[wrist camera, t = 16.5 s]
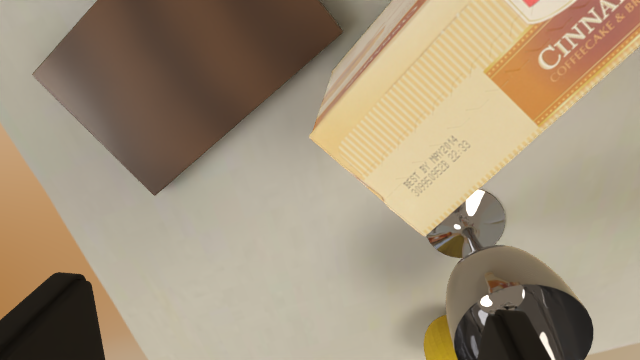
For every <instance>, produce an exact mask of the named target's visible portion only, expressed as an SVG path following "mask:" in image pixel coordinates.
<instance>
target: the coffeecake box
mask: <svg viewBox="0 0 640 360" xmlns="http://www.w3.org/2000/svg"><path fill="white" fill-rule="evenodd" d="M639 46H640V0H392V1H391V2H390V4H389V5H388V6H387V7H386V8H385V9H384V11H383V12H382V13H381V14H380V15H379V16H378V18H377V19H376V20H375V21H374V22H373V23H372V25H371V26H370V27H369V28H368V29H367V30H366V32H365V33H364V34H363V35H362V36H361V38H360V39H359V40H358V41H357V42H356V43H355V45H354V46H353V47H352V48H351V49H350V50H349V52H348V53H347V54H346V55H345V56H344V57H343V59H342V60H341V61H340V62H339V63H338V65H337V66H336V67H335V68H334V70H333V71H332V75H331V78H330V81H329V83H328V86H327V89H326V93H325V96H324V99H323V101H322V104H321V107H320V110H319V113H318V116H317V119H316V122H315V126H314V129H313V131H312V133H311V134H310V135H309V138H310V139H311V140H313V141H314V142H315V143H316V144H317V145H319V146H320V147H321V148H322V149H323V150H324V151H325V152H327V153H328V154H329V155H330V156H331V157H332V158H333V159H335V160H336V161H337V162H338V163H339V164H340V165H342V166H343V167H344V168H345V169H346V170H347V171H349V172H350V173H351V174H352V175H353V176H354V177H356V178H357V179H358V180H359V181H360V182H361V183H362V184H364V185H365V186H366V187H367V188H368V189H369V190H370V191H372V192H373V193H374V194H375V195H376V196H377V197H379V198H380V199H381V200H382V201H383V202H385V204H386V205H387V207H388V208H389V209H391V210H392V211H393V212H394V213H396V214H397V215H398V216H399V217H400V218H402V219H403V220H404V221H405V222H406V223H408V224H409V225H410V226H411V227H412V228H414V229H415V230H416V231H417V232H419V233H420V234H421V235H422V236H426V235H427V234H428V233H430V232H431V231H432V230H433V229H434V228H435V227H436V226H438V225H439V224H440V223H441V222H442V221H443V220H444V219H445V218H447V217H448V216H449V215H450V214H451V213H452V212H453V211H455V210H456V209H457V208H458V207H459V206H460V205H461V204H462V203H464V202H465V201H466V200H467V199H468V198H469V197H470V196H471V195H473V194H474V193H475V192H476V191H477V190H478V189H479V188H480V187H482V186H483V185H484V184H485V183H486V182H487V181H488V180H489V179H490V178H492V177H493V176H494V175H495V174H496V173H497V172H498V171H499V170H501V169H502V168H503V167H504V166H505V165H506V164H507V163H509V162H510V161H511V160H512V159H513V158H514V157H515V156H516V155H518V154H519V153H520V152H521V151H522V150H523V149H524V148H525V147H527V146H528V145H529V144H530V143H531V142H532V141H533V140H534V139H536V138H537V137H538V136H539V135H540V134H541V133H542V132H543V131H545V130H546V129H547V128H548V127H549V126H550V125H552V124H553V123H554V122H555V121H556V120H557V119H558V118H559V117H560V116H561V115H563V114H564V113H565V112H566V111H567V110H568V109H569V108H570V107H572V106H573V105H574V104H575V103H576V102H577V101H578V100H580V99H581V98H582V97H583V96H584V95H585V94H586V93H588V92H589V91H590V90H591V89H592V88H593V87H594V86H595V85H597V84H598V83H599V82H600V81H601V80H602V79H603V78H605V77H606V76H607V75H608V74H609V73H610V72H611V71H612V70H614V69H615V68H616V67H617V66H618V65H619V64H620V63H621V62H623V61H624V60H625V59H626V58H627V57H628V56H629V55H630V54H632V53H633V52H634V51H635V50H636V49H637V48H638V47H639Z"/></svg>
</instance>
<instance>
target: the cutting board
mask: <svg viewBox="0 0 640 360" xmlns="http://www.w3.org/2000/svg"><path fill="white" fill-rule="evenodd" d="M342 32H343V30H342V29H341V27H340V26H339V25H338V24H337V22H336V21H335V20H334V18H333V17H332V16H331V15H330V13H329V12H328V11H327V9H326V8H325V7H324V5H323V4H322V3H321V2H320V0H97V1H96V2H95V3H94V5H93V6H92V7H91V8H90V9H89V10H88V11H87V13H86V14H85V15H84V16H83V17H82V18H81V19H80V21H79V22H78V23H77V24H76V25H75V26H74V27H73V28H72V30H71V31H70V32H69V33H68V34H67V35H66V36H65V38H64V39H63V40H62V41H61V42H60V43H59V44H58V46H57V47H56V48H55V49H54V50H53V51H52V52H51V54H50V55H49V56H48V57H47V58H46V59H45V60H44V61H43V63H42V64H41V65H40V66H39V67H38V68H37V69H36V71H35V72H34V73H33V74H32V75H33V76H34V77H35V78H36V79H37V80H38V81H39V82H40V83H41V84H42V85H43V86H44V87H45V88H46V89H47V90H48V91H49V92H50V93H51V94H52V95H53V96H54V97H55V98H56V99H57V100H58V101H59V102H60V103H61V104H62V105H63V106H64V107H65V108H66V109H67V110H68V111H69V112H70V113H71V114H72V115H73V116H74V117H75V118H76V119H77V120H78V121H79V122H80V123H81V124H82V125H83V126H84V127H85V128H86V129H87V130H88V131H89V132H90V133H91V134H92V135H93V136H94V137H95V138H96V139H97V140H98V141H99V142H100V143H101V144H102V145H103V146H104V147H105V148H106V149H107V150H108V151H110V152H111V153H112V154H113V155H114V156H115V157H116V158H117V159H118V160H119V161H120V162H121V163H122V164H123V165H124V166H125V167H126V168H127V169H128V170H129V171H130V172H131V173H132V174H133V175H134V176H135V177H136V178H137V179H138V180H139V181H140V182H141V183H142V184H143V185H144V186H145V187H146V188H147V189H148V190H149V191H150V192H151V193H152V194H153V195H154V196H155V195H156V194H157V193H158V192H160V191H161V190H162V189H163V188H164V187H165V186H167V185H168V184H169V183H170V182H171V181H172V180H173V179H175V178H176V177H177V176H178V175H179V174H180V173H182V172H183V171H184V170H185V169H186V168H187V167H188V166H190V165H191V164H192V163H193V162H194V161H195V160H196V159H198V158H199V157H200V156H201V155H202V154H203V153H205V152H206V151H207V150H208V149H209V148H210V147H211V146H213V145H214V144H215V143H216V142H217V141H218V140H220V139H221V138H222V137H223V136H224V135H225V134H226V133H228V132H229V131H230V130H231V129H232V128H233V127H234V126H236V125H237V124H238V123H239V122H240V121H241V120H243V119H244V118H245V117H246V116H247V115H248V114H249V113H251V112H252V111H253V110H254V109H255V108H256V107H257V106H259V105H260V104H261V103H262V102H263V101H264V100H266V99H267V98H268V97H269V96H270V95H271V94H272V93H274V92H275V91H276V90H277V89H278V88H279V87H281V86H282V85H283V84H284V83H285V82H286V81H287V80H289V79H290V78H291V77H292V76H293V75H294V74H295V73H297V72H298V71H299V70H300V69H301V68H302V67H304V66H305V65H306V64H307V63H308V62H309V61H310V60H312V59H313V58H314V57H315V56H316V55H317V54H318V53H320V52H321V51H322V50H323V49H324V48H325V47H327V46H328V45H329V44H330V43H331V42H332V41H333V40H335V39H336V38H337V37H338V36H339V35H340V34H342Z"/></svg>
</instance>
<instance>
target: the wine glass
mask: <svg viewBox="0 0 640 360" xmlns="http://www.w3.org/2000/svg"><path fill="white" fill-rule="evenodd" d="M504 226H505V214H504V210H503V208H502V206H501V204H500V203H499V201H498V200H497V199H496V198H495V197H494V196H492V195H491V194H489V193H487V192H486V191H483V190H480V189H478V190H477V191H476V192H475V193H474V194H473V195H471V196H470V197H469V198H468V199H467V200H466V201H465V202H464V203H462V204H461V205H460V206H459V207H458V208H457V209H456V210H455V211H453V212H452V213H451V214H450V215H449V216H448V217H447V218H445V219H444V220H443V221H442V222H441V223H440V224H439V225H438V226H436V227H435V228H434V229H433V230H432V231H431V232H430V233H428V234H427V238H428V240H429V241H430V243H431V244H432V245H433V247H434V248H436V249H437V250H438V251H439V252H441V253H443V254H445V255H448V256H451V257H457V258H463V259H461V260H460V261H459V262H458V263H457V265H456V266H455V267H454V269H453V271H452V272H451V275H450V278H449V281H448V284H447V291H446V316H447V324H448V329H449V333H450V338H451V341H452V345H453V348H454V351H455V354H456V356H457V359H458V360H477V357H478V352H479V348H480V343H481V339H482V334H483V330H484V326H485V321H486V318H487V316H488V315H494V314H495V312H496V310H498V309H501V310H513V311H523V312H525V313H526V314H527V316H528V318H529V319H530V321H531V323H532V325H533V327H534V328H535V330H536V332H537V334H538V336H539V337H540V339H541V341H542V343H543V345H544V347H545V348H546V350H547V352H548V354H549V356H550V357H551V359H552V360H584V359H585V358H586V356H587V354H588V352H589V350H590V348H591V345H592V341H593V325H592V320H591V318H590V316H589V314H588V312H587V310H586V308H585V307H584V305H583V304H582V303H581V301H580V300H579V299H578V297H577V296H576V295H575V294H574V292H573V291H572V290H571V289H570V287H569V286H568V285H567V284H566V283H565V282H564V280H563V279H562V278H561V277H560V276H559V275H558V274H557V273H555V272H554V271H553V270H552V269H551V268H550V267H548V266H547V265H546V264H545V263H544V262H542V261H541V260H539V259H538V258H536V257H535V256H533V255H531V254H530V253H528V252H526V251H524V250H521V249H518V248H515V247H512V246H506V245H495V244H496V242H497V241H498V240H499V238H500V237H501V235H502V233H503V230H504Z"/></svg>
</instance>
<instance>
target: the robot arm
mask: <svg viewBox="0 0 640 360" xmlns="http://www.w3.org/2000/svg"><path fill="white" fill-rule="evenodd" d="M0 360H105V356H104V350H103V345H102V339H101V334H100V328H99V324H98V317H97V312H96V306H95V301H94V295H93V291H92V285H91V283H90V282H89V281H86V279H85V277H84V276H83V275H81V274H72V273H60V272H58V273H55V274H53V275H52V276H50V277H49V278H48V279H47V280H46V281H45V282H43V283H42V284H41V285H40V286H39V287H38V288H37V289H35V290H34V291H33V292H32V293H31V294H30V295H29V296H27V297H26V298H25V299H24V300H23V301H22V302H20V303H19V304H18V305H17V306H16V307H15V308H14V309H13V310H11V311H10V312H9V313H8V314H7V315H6V316H4V318H2V319H1V320H0ZM477 360H552V359H551V357H550V356H549V354H548V352H547V350H546V348H545V347H544V345H543V343H542V341H541V339H540V337H539V336H538V334H537V332H536V330H535V328H534V327H533V325H532V323H531V321H530V319H529V318H528V316H527V314H526V313H525V312H523V311H513V310H501V309H498V310H496V312H495V314H494V315H488V316H487V318H486V321H485V326H484V330H483V334H482V339H481V343H480V348H479V352H478V357H477Z"/></svg>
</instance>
